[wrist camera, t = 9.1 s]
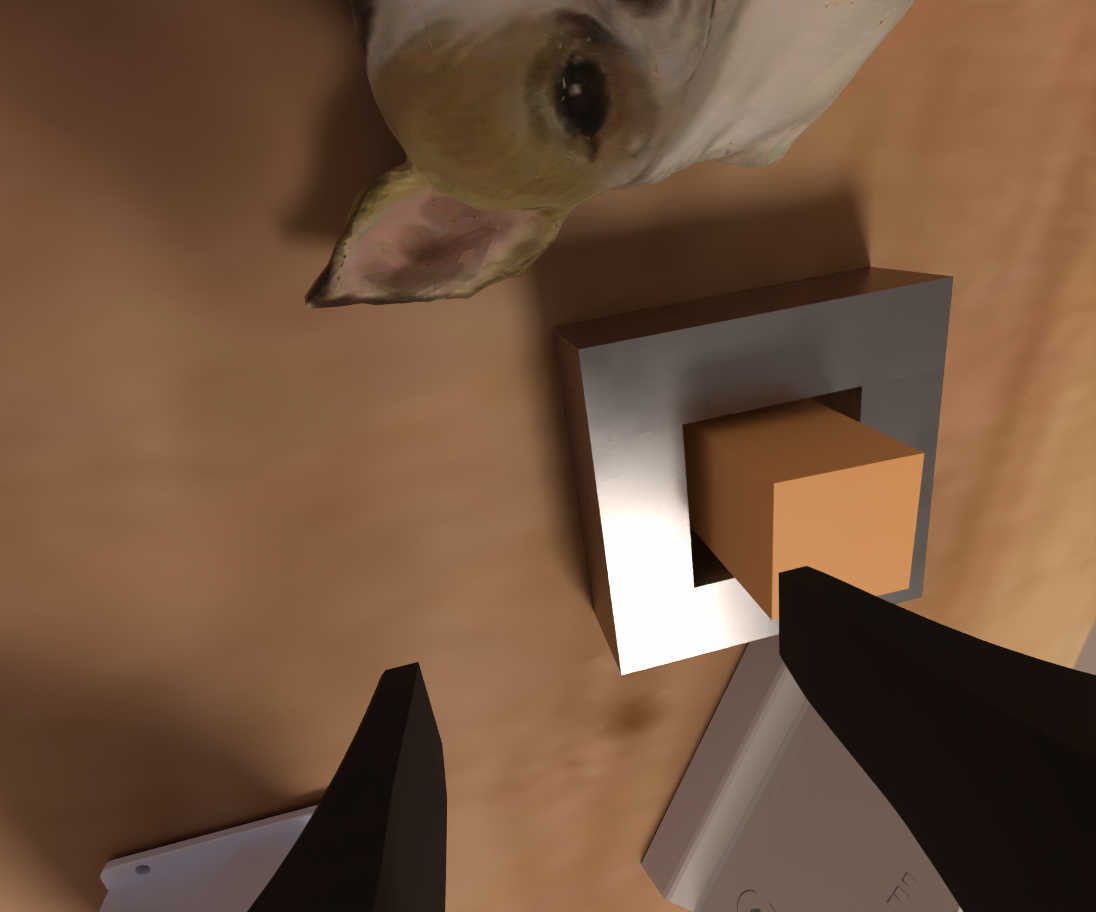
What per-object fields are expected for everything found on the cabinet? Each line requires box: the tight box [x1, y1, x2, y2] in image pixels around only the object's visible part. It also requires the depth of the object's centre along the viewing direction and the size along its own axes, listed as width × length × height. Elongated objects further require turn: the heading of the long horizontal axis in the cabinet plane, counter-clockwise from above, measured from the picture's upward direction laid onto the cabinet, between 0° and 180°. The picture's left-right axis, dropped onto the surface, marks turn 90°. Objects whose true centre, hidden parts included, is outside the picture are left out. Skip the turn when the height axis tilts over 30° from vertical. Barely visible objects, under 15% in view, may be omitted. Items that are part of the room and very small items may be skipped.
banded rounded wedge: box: [641, 634, 963, 912], centre depth 25 cm, size 17×5×10 cm, turn 162°
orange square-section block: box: [682, 398, 924, 620], centre depth 19 cm, size 4×4×7 cm
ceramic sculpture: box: [305, 0, 915, 309], centre depth 13 cm, size 11×9×15 cm
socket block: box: [553, 267, 953, 675], centre depth 21 cm, size 11×11×4 cm
